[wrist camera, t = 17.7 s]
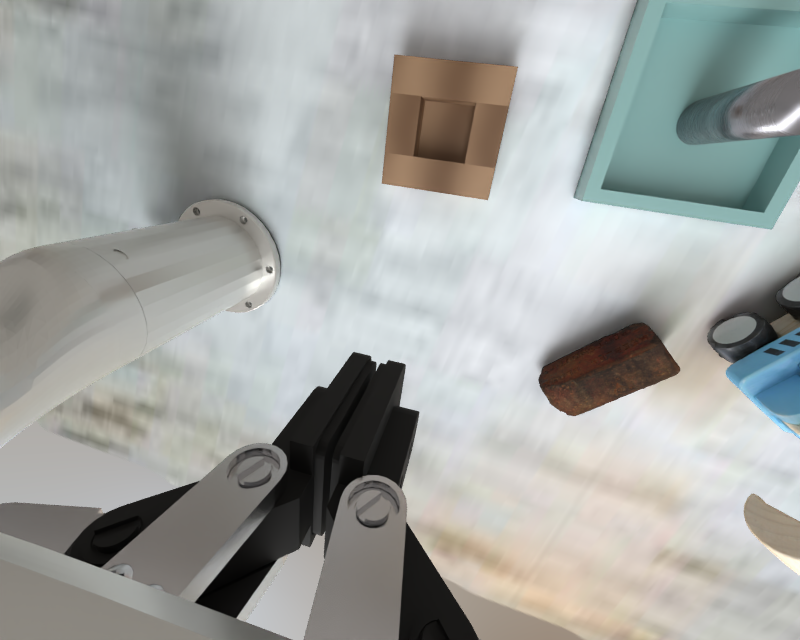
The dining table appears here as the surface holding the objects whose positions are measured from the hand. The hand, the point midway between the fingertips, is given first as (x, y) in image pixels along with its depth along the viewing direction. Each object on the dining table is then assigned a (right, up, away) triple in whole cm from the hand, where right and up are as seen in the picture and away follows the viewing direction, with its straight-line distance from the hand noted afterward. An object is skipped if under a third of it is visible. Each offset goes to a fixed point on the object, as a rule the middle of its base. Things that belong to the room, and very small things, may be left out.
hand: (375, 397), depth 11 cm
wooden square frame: (+5, +18, +19) cm, 27 cm away
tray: (+23, +17, +15) cm, 32 cm away
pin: (+23, +17, +14) cm, 32 cm away
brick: (+20, -1, +24) cm, 32 cm away
